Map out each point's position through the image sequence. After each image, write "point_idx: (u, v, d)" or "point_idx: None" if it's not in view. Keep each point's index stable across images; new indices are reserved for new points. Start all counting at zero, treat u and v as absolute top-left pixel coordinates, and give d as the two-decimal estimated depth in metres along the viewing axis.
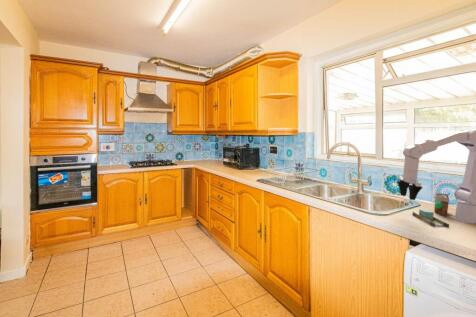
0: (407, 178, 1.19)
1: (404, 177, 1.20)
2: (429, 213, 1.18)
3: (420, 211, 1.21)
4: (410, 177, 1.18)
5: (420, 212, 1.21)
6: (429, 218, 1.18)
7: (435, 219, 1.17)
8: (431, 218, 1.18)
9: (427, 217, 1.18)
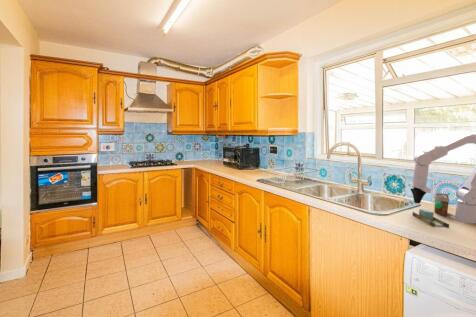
0: (417, 184, 1.24)
1: (414, 183, 1.26)
2: (429, 213, 1.18)
3: (420, 211, 1.21)
4: (420, 183, 1.23)
5: (420, 212, 1.21)
6: (429, 218, 1.18)
7: (435, 219, 1.17)
8: (431, 218, 1.18)
9: (427, 217, 1.18)
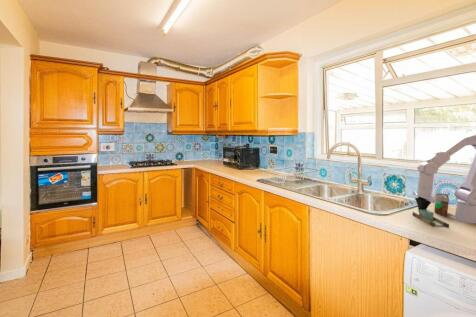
0: (422, 194, 1.20)
1: (418, 193, 1.22)
2: (429, 213, 1.18)
3: (420, 211, 1.21)
4: (425, 193, 1.20)
5: (420, 212, 1.21)
6: (429, 218, 1.18)
7: (435, 219, 1.17)
8: (431, 218, 1.18)
9: (427, 217, 1.18)
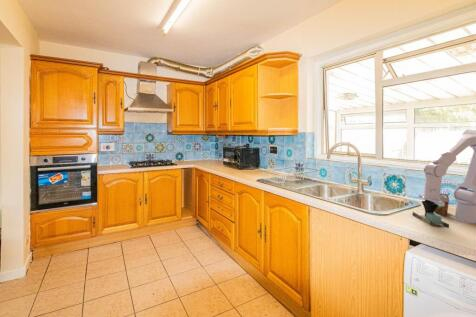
0: (429, 197, 1.15)
1: (425, 195, 1.17)
2: (437, 217, 1.13)
3: (427, 215, 1.16)
4: (432, 196, 1.14)
5: (427, 216, 1.16)
6: (437, 222, 1.13)
7: None
8: (439, 222, 1.13)
9: (434, 221, 1.13)
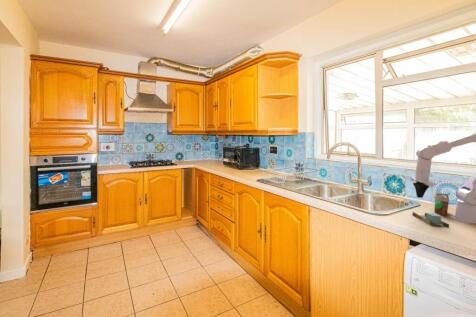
0: (420, 178, 1.22)
1: (417, 177, 1.24)
2: (437, 217, 1.13)
3: (427, 215, 1.16)
4: (423, 177, 1.22)
5: (427, 216, 1.16)
6: (437, 222, 1.13)
7: None
8: (439, 222, 1.13)
9: (434, 221, 1.13)
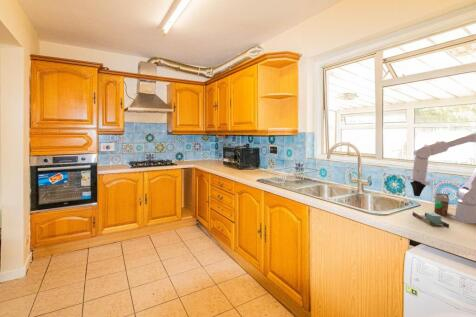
0: (416, 177, 1.25)
1: (413, 176, 1.26)
2: (437, 217, 1.13)
3: (427, 215, 1.16)
4: (419, 176, 1.24)
5: (427, 216, 1.16)
6: (437, 222, 1.13)
7: None
8: (439, 222, 1.13)
9: (434, 221, 1.13)
